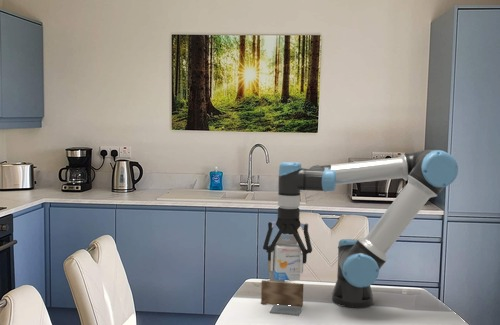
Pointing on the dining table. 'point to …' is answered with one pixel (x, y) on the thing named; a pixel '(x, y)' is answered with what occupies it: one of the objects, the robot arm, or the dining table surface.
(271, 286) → the wooden stand
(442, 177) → the robot arm
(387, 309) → the dining table surface
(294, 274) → the ink box
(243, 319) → the dining table surface
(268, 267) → the coffee cup
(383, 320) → the dining table surface
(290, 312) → the mat
